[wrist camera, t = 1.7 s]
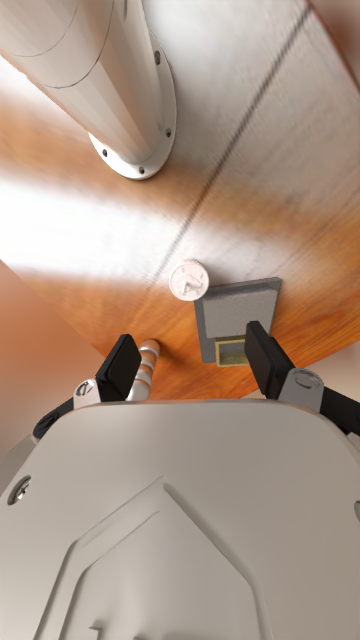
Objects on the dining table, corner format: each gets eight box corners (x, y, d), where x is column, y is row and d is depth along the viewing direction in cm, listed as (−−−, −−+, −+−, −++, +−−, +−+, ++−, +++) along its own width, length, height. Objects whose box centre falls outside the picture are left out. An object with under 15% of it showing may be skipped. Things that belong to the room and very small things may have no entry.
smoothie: (176, 248, 28) (166, 265, 17) (208, 253, 28) (219, 274, 17) (172, 279, 32) (162, 311, 20) (200, 284, 32) (206, 318, 21)
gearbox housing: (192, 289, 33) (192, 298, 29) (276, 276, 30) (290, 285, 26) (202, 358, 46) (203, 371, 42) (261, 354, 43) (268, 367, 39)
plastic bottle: (157, 334, 42) (136, 408, 25) (164, 350, 45) (149, 424, 29) (137, 337, 43) (104, 409, 26) (145, 352, 46) (120, 424, 30)
